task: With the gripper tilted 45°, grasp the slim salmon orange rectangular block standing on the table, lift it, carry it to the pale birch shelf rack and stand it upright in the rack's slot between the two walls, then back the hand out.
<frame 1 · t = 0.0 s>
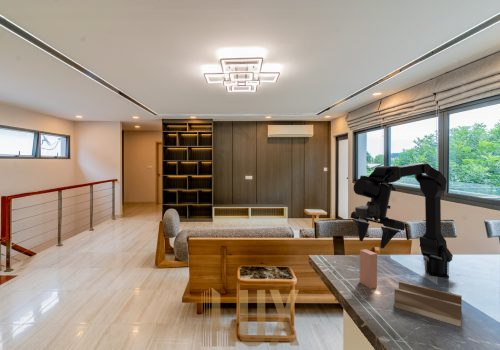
hand: (370, 244, 92), 15 cm above the countertop, tool pointing down, fingers open, 9 cm apart
supplement box: (432, 260, 121), on the countertop
salmon orange rectangular block: (367, 284, 95), on the countertop
shelf rack: (426, 308, 79), on the countertop
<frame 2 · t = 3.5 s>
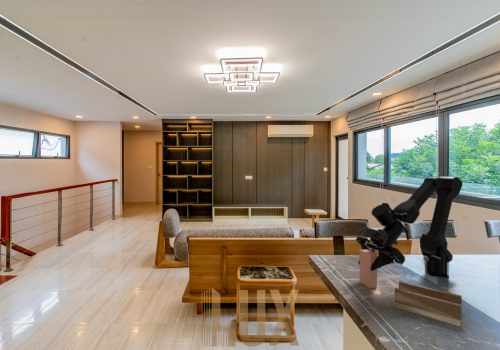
hand: (364, 267, 95), 7 cm above the countertop, tool tilted 45°, fingers closed on salmon orange rectangular block, 5 cm apart
salmon orange rectangular block: (367, 284, 95), on the countertop, touching gripper
everything else where it was.
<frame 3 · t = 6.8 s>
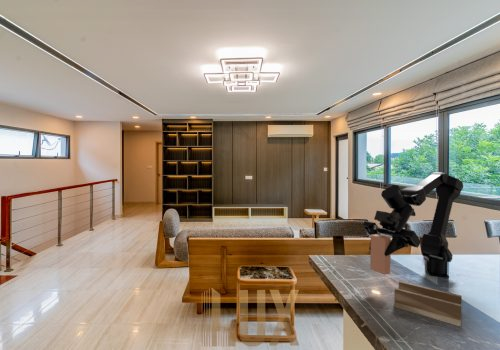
hand: (377, 252, 90), 13 cm above the countertop, tool tilted 45°, fingers closed on salmon orange rectangular block, 5 cm apart
salmon orange rectangular block: (380, 271, 90), point 7 cm above the countertop, touching gripper
everything else where it was.
when the fingers open (8 cm above the countertop, at t = 9.9 s): salmon orange rectangular block stays where it is, resting on shelf rack.
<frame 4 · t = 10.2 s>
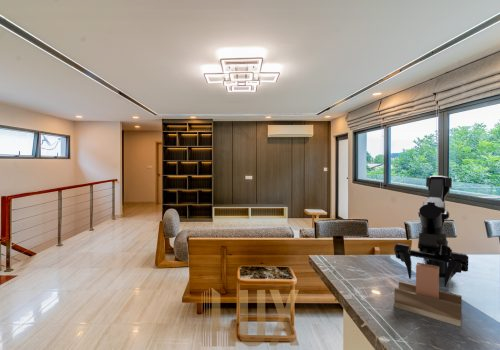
hand: (426, 282, 78), 9 cm above the countertop, tool tilted 45°, fingers open, 8 cm apart
salmon orange rectangular block: (427, 305, 79), point 1 cm above the countertop, touching shelf rack
everything else where it was.
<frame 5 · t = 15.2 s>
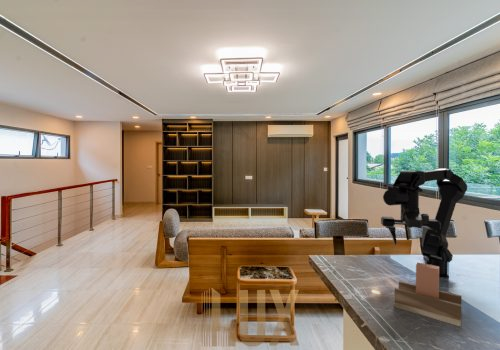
hand: (409, 245, 99), 13 cm above the countertop, tool pointing down, fingers open, 9 cm apart
nothing on the countertop moved.
at the end: salmon orange rectangular block 0.0 cm off-centre on the shelf rack, point 1.0 cm above the shelf rack's base; salmon orange rectangular block tilted 0°; the gripper is holding nothing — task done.
